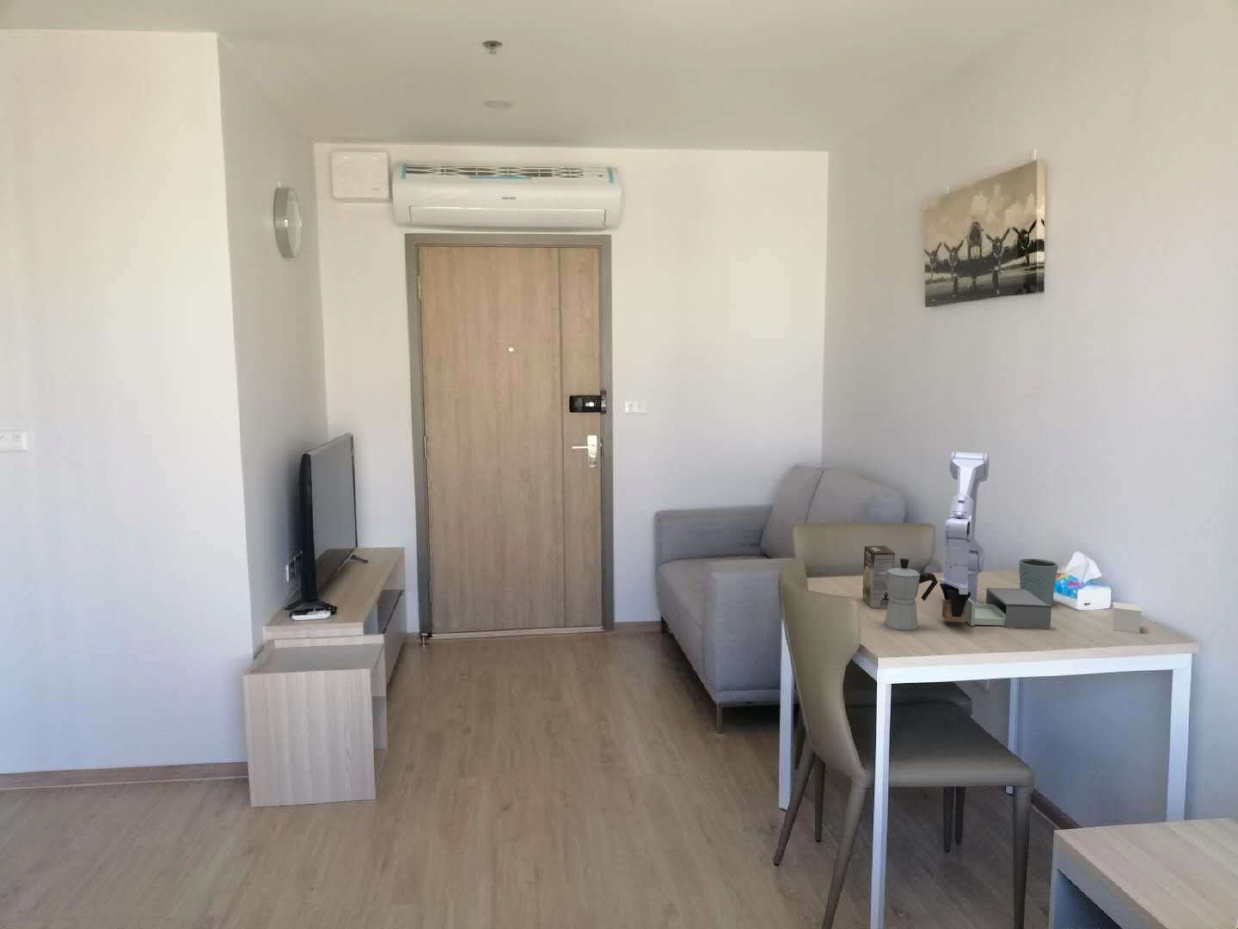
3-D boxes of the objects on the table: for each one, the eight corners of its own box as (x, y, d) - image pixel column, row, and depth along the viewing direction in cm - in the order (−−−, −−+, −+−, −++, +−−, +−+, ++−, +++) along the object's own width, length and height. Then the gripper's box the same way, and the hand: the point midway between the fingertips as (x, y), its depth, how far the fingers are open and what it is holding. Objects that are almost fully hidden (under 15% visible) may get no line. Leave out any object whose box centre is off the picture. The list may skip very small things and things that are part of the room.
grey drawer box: (985, 609, 234) (986, 587, 233) (1026, 611, 233) (1027, 589, 232) (1006, 627, 218) (1007, 604, 217) (1050, 629, 217) (1051, 605, 216)
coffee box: (861, 599, 244) (863, 545, 242) (883, 599, 244) (885, 545, 242) (870, 608, 235) (873, 552, 233) (893, 608, 235) (896, 552, 233)
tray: (951, 607, 235) (953, 587, 234) (992, 609, 234) (994, 588, 233) (970, 625, 219) (971, 603, 218) (1014, 627, 218) (1015, 604, 217)
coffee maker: (879, 629, 216) (882, 561, 214) (873, 619, 225) (876, 554, 223) (939, 632, 214) (942, 564, 212) (931, 622, 223) (934, 556, 221)
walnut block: (941, 616, 223) (942, 599, 223) (959, 616, 223) (960, 600, 222) (947, 621, 219) (947, 604, 218) (965, 621, 218) (966, 605, 218)
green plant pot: (1027, 607, 236) (1030, 566, 235) (1009, 597, 246) (1012, 558, 245) (1062, 607, 236) (1065, 566, 235) (1043, 597, 246) (1046, 557, 245)
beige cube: (1137, 627, 220) (1139, 605, 219) (1139, 633, 214) (1141, 611, 213) (1110, 623, 222) (1112, 601, 221) (1112, 630, 217) (1114, 607, 216)
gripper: (933, 556, 226) (930, 605, 228) (948, 569, 212) (946, 621, 214) (959, 557, 226) (957, 605, 227) (977, 570, 211) (974, 622, 213)
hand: (953, 613), depth 221 cm, fingers closed on walnut block, 5 cm apart
